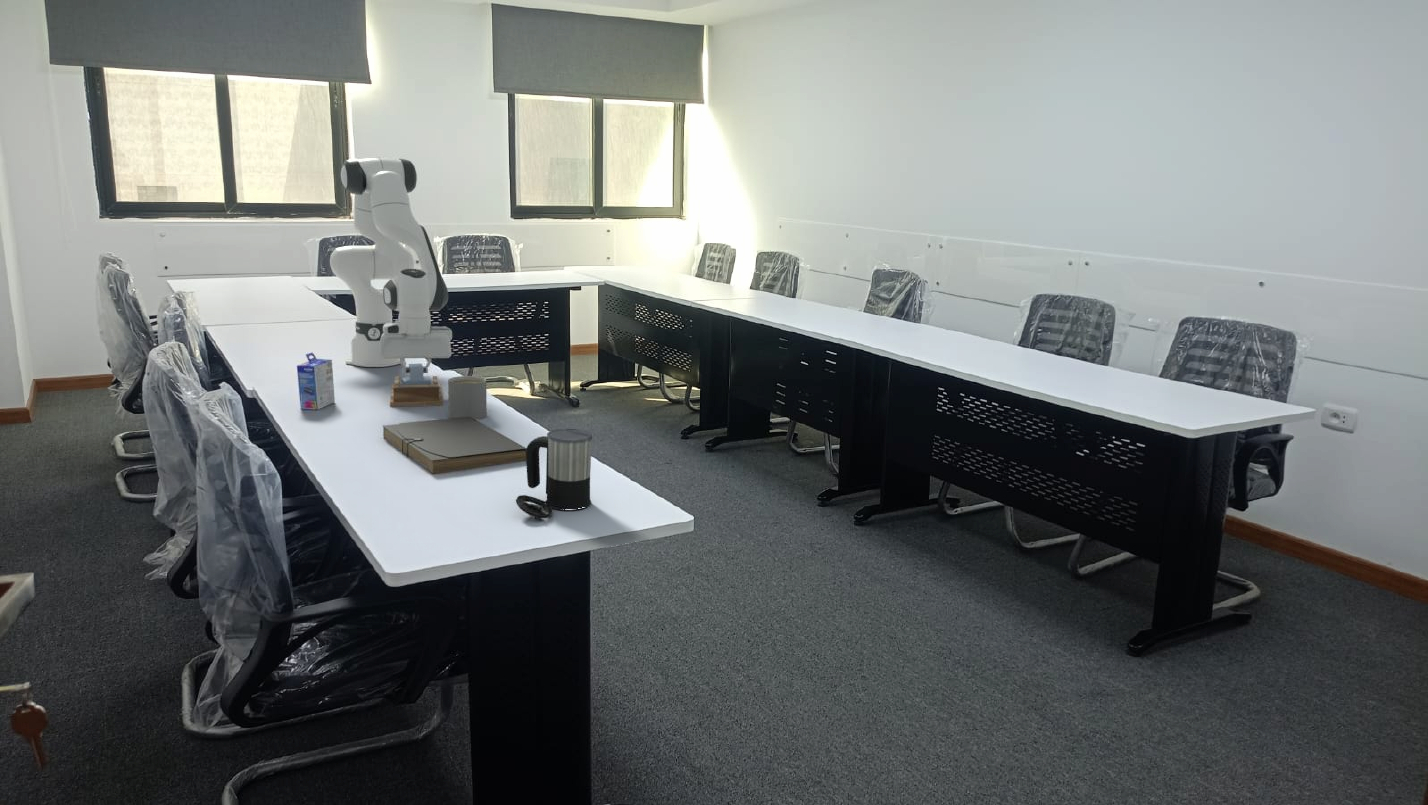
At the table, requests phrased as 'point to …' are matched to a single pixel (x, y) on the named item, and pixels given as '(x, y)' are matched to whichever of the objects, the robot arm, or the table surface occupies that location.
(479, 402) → the coffee mug
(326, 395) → the ink cartridge box
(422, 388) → the wooden tray
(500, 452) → the file folder
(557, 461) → the milk frother
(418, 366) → the grey flanged pedestal
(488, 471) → the table surface
